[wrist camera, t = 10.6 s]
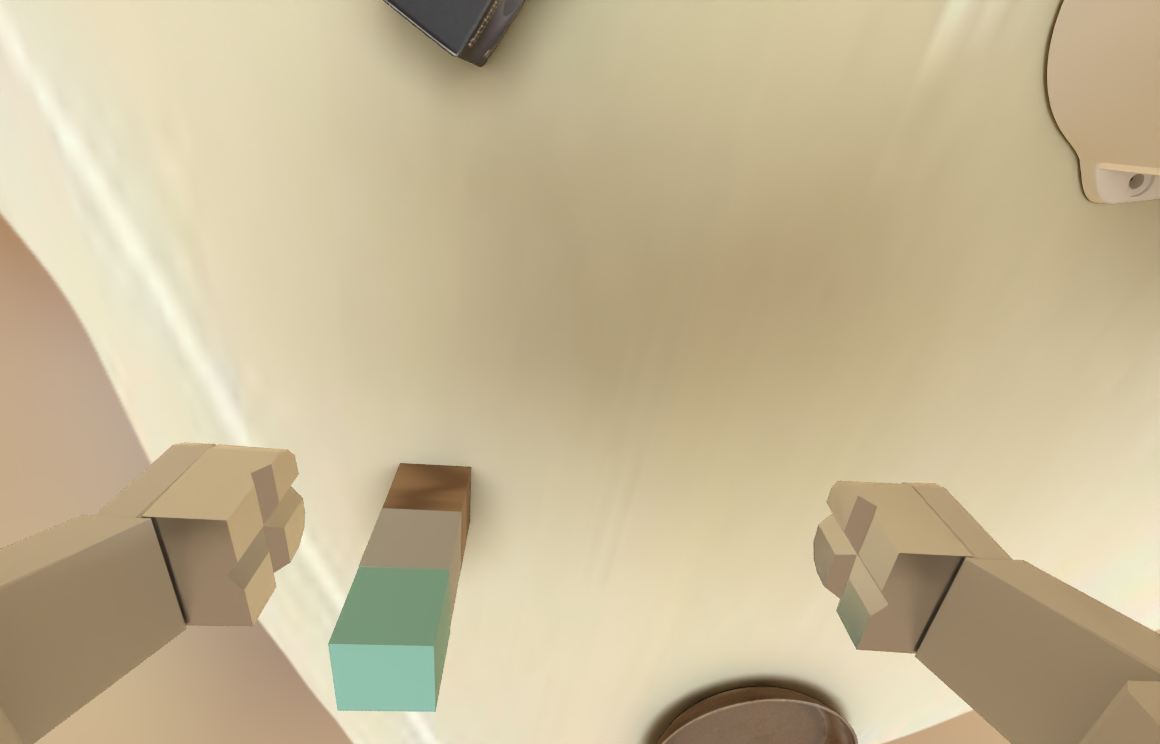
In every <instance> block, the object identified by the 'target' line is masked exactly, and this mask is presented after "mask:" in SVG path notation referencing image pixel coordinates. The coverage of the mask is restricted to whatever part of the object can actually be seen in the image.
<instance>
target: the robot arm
mask: <svg viewBox="0 0 1160 744" xmlns="http://www.w3.org/2000/svg"><path fill="white" fill-rule="evenodd" d="M1047 86H1048V95H1049V101H1050V105H1051V109H1052V112H1053V115H1054V118H1055V120H1056V122H1057V124H1058V126H1059V128H1060V130H1061V132H1062V133H1063V135H1064V136H1065V137H1066V139H1067V140H1068V141H1069V143H1070V144H1071V145H1072V147H1073V148H1074V149H1075V151H1076V153H1077V155H1078V157H1079V159H1080V169H1081V178H1082V184H1083V189H1084V193H1085V195H1086V197H1087V198H1088V199H1089V200H1090V201H1092V202H1095V203H1106V204H1116V203H1126V202H1135V201H1144V200H1153V199H1160V0H1064V2H1063V4H1062V6H1061V9H1060V12H1059V15H1058V17H1057V21H1056V24H1055V27H1054V31H1053V35H1052V39H1051V44H1050V49H1049V56H1048V66H1047ZM1132 177H1133V179H1132V181H1131V183H1130V184H1129V182H1130V180H1131V178H1132ZM298 474H299V473H298V468H297V463H296V459H295V455H294V454H293V453H291V452H290V451H289V450H285V449H272V448H259V447H246V446H233V445H215V444H203V443H185V442H184V443H180V444H175V445H172V446H171V447H170V448H169V449H168V450H167V451H166V452H165V453H164V454H162V455H161V456H160V457H159V458H158V459H157V460H156V461H155V462H154V463H152V464H151V465H150V466H149V467H148V468H147V469H146V470H145V471H144V472H142V473H141V474H140V475H139V476H138V477H137V478H136V479H135V480H134V481H132V483H130V484H129V485H128V486H127V487H126V488H125V489H124V490H122V491H121V492H120V493H119V494H118V495H117V496H116V497H115V498H114V499H113V500H111V501H110V502H109V503H108V504H107V505H106V506H105V507H104V508H102V510H100V511H99V512H98V513H97V514H96V515H81V516H78V517H76V518H74V519H71V520H69V521H66V522H64V523H61V524H59V525H57V526H54V527H52V528H49V529H47V530H44V531H42V532H40V533H37V534H35V535H33V536H30V537H28V538H25V539H23V540H20V541H18V542H15V543H13V544H11V545H8V546H6V547H3V548H1V549H0V744H34V743H35V742H36V741H38V740H39V739H40V738H42V737H43V736H44V735H46V734H47V733H48V732H50V731H51V730H52V729H54V728H55V727H56V726H58V725H59V724H60V723H62V722H63V721H64V720H66V719H67V718H68V717H70V716H71V715H72V714H74V713H75V712H76V711H78V710H79V709H80V708H82V707H83V706H84V705H86V704H87V703H88V702H90V701H91V700H92V699H94V698H95V697H96V696H98V695H99V694H100V693H102V692H103V691H104V690H106V689H107V688H108V687H110V686H111V685H112V684H114V683H115V682H116V681H118V680H119V679H120V678H122V677H123V676H124V675H125V674H127V673H128V672H130V671H131V670H132V669H134V668H135V667H136V666H138V665H139V664H140V663H142V662H143V661H144V660H146V659H147V658H148V657H150V656H151V655H152V654H154V653H155V652H156V651H158V650H159V649H160V648H162V647H163V646H164V645H166V644H167V643H168V642H170V641H171V640H172V639H174V638H175V637H176V636H178V635H179V634H180V633H182V632H183V631H184V630H185V629H186V625H201V626H203V625H204V626H253V625H254V624H255V622H256V620H257V619H258V617H259V615H260V614H261V612H262V610H263V609H264V607H265V605H266V603H267V602H268V600H269V598H270V597H271V595H272V593H273V592H274V590H275V588H276V583H275V578H274V572H276V571H278V570H279V569H281V568H282V567H284V566H285V565H287V564H289V563H290V562H291V560H292V559H293V557H294V555H295V553H296V551H297V550H298V548H299V545H300V541H301V538H302V534H303V530H304V524H305V509H304V502H303V498H302V497H301V496H300V495H299V494H298V493H297V492H296V491H295V490H294V489H293V488H292V487H291V485H292V483H293V482H294V480H295V479H296V477H297V476H298ZM827 504H828V506H829V508H830V510H831V512H832V514H831V515H830V516H829V517H827V518H826V519H825V520H824V521H822V522H821V523H820V524H819V525H818V528H817V532H816V535H815V538H814V562H815V566H816V570H817V573H818V575H819V577H820V579H821V581H822V583H823V585H824V587H826V588H827V589H828V590H830V591H831V592H832V593H833V594H835V595H836V596H837V597H839V598H840V601H839V604H838V607H837V610H836V611H837V613H838V615H839V617H840V618H841V620H842V622H843V624H844V626H845V628H846V630H847V632H848V634H849V636H850V638H851V640H852V642H853V643H854V645H855V647H856V649H857V650H871V651H886V652H900V653H915V654H916V655H915V657H916V658H917V659H918V660H919V661H921V662H922V663H923V664H924V665H925V666H926V667H927V668H928V669H929V670H931V671H932V672H933V673H934V674H935V675H936V676H937V677H938V678H939V679H941V680H942V681H943V682H944V683H945V684H946V685H947V686H948V687H949V688H950V689H952V690H953V691H954V692H955V693H956V694H957V695H958V696H959V697H960V698H962V699H963V700H964V701H965V702H966V703H967V704H968V705H969V706H970V707H972V708H973V709H974V710H975V711H976V712H977V713H978V714H979V715H980V716H982V717H983V718H984V719H985V720H986V721H987V722H988V723H989V724H990V725H991V726H993V727H994V728H995V729H996V730H997V731H998V732H999V733H1000V734H1001V735H1003V736H1004V737H1005V738H1006V739H1007V740H1008V741H1009V742H1010V743H1011V744H1160V634H1158V633H1156V632H1155V631H1153V630H1151V629H1149V628H1147V627H1145V626H1143V625H1142V624H1140V623H1138V622H1136V621H1134V620H1132V619H1131V618H1129V617H1127V616H1125V615H1123V614H1121V613H1120V612H1118V611H1116V610H1114V609H1112V608H1110V607H1108V606H1107V605H1105V604H1103V603H1101V602H1099V601H1097V600H1096V599H1094V598H1092V597H1090V596H1088V595H1086V594H1085V593H1083V592H1081V591H1079V590H1077V589H1075V588H1074V587H1072V586H1070V585H1068V584H1066V583H1064V582H1062V581H1061V580H1059V579H1057V578H1055V577H1053V576H1051V575H1050V574H1048V573H1046V572H1044V571H1042V570H1040V569H1039V568H1037V567H1035V566H1033V565H1031V564H1029V563H1027V562H1026V561H1024V560H1013V559H1012V558H1011V557H1010V556H1009V555H1008V554H1007V553H1006V552H1005V551H1004V550H1003V549H1002V548H1001V547H1000V546H999V545H998V543H997V542H996V541H995V540H994V539H993V538H992V537H991V536H990V535H989V534H988V533H987V532H986V531H985V530H984V529H983V528H982V527H981V525H980V524H979V523H978V522H977V521H976V520H975V519H974V518H973V517H972V516H971V515H970V514H969V513H968V512H967V511H966V510H965V509H964V508H963V506H962V505H961V504H960V503H959V502H958V501H957V500H956V499H955V498H954V497H953V496H952V495H951V494H950V493H949V492H948V491H947V490H946V489H945V488H943V487H941V486H939V485H937V484H930V483H902V484H897V483H875V482H853V481H837V483H836V484H835V485H834V486H833V487H832V488H831V491H830V494H829V496H828V499H827Z"/></svg>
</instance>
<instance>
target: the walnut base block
mask: <svg viewBox="0 0 1160 744" xmlns="http://www.w3.org/2000/svg"><path fill="white" fill-rule="evenodd" d="M470 488H471V467H464V466H444V465H425V464H406V463H400V466H399V468H398V470H397V473H396V475H395V478H394V480H393V483H392V485H391V488H390V490H389V493H388V495H387V498H386V500H385V503H384V505H383V508H391V509H412V510H434V511H456V512H461V566H462V561H463V556H464V550H465V545H466V539H467V534H468V529H469V523H470Z"/></svg>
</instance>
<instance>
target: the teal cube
mask: <svg viewBox="0 0 1160 744" xmlns="http://www.w3.org/2000/svg"><path fill="white" fill-rule="evenodd" d="M449 635H450V570H444V569H414V568H384V567H359V569H358V571H357V574H356V576H355V579H354V581H353V584H352V586H351V589H350V591H349V594H348V596H347V599H346V601H345V604H344V606H343V609H342V611H341V613H340V616H339V618H338V621H337V623H336V626H335V628H334V631H333V633H332V636H331V638H330V641H329V643H328V645H329V652H330V659H331V667H332V674H333V681H334V688H335V695H336V702H337V710H340V711H422V712H435V711H436V706H437V700H438V695H439V690H440V684H441V679H442V673H443V668H444V662H445V657H446V651H447V646H448V640H449Z"/></svg>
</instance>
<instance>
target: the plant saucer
mask: <svg viewBox="0 0 1160 744" xmlns="http://www.w3.org/2000/svg"><path fill="white" fill-rule="evenodd" d="M657 744H858V740H857V737H856V734H855V732H854V730H853V728H852V727H851V726H850V724H849V723H848V722H847V721H846V720H845V719H844V718H843V717H842V716H841V715H839V714H838V713H837V712H836V711H834V710H833V709H831V708H830V707H828V706H827V705H825V704H823V703H822V702H820V701H818V700H816V699H814V698H812V697H809V696H807V695H804V694H802V693H799V692H796V691H792V690H788V689H783V688H776V687H746V688H739V689H734V690H730V691H726V692H722V693H719V694H716V695H714V696H711V697H709V698H707V699H704V700H702V701H701V702H699V703H697V704H695V705H693V706H692V707H690V708H689V709H687V710H686V711H684V712H683V713H682V714H681V715H680V716H678V717H677V718H676V719H675V720H674V721H673V722H672V723H671V724H670V726H669V727H668V728H667V729H666V730H665V732H664V733H663V735H662V736H661V737H660V739H659V741H658V742H657Z"/></svg>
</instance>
